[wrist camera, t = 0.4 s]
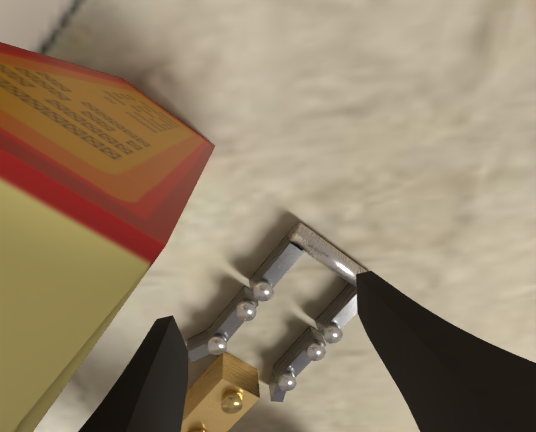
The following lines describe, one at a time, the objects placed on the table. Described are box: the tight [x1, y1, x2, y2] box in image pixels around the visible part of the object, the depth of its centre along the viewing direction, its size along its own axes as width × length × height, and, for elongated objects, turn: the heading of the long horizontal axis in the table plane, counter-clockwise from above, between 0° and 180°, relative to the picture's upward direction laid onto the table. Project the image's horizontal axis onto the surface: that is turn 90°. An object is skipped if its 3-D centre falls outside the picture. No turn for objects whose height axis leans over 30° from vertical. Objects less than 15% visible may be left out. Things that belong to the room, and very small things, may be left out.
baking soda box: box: [0, 42, 215, 432], centre depth 12 cm, size 10×6×16 cm
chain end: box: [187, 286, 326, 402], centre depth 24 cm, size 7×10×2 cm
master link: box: [181, 352, 260, 432], centre depth 25 cm, size 7×4×4 cm, turn 141°
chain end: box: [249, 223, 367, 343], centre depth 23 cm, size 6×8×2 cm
